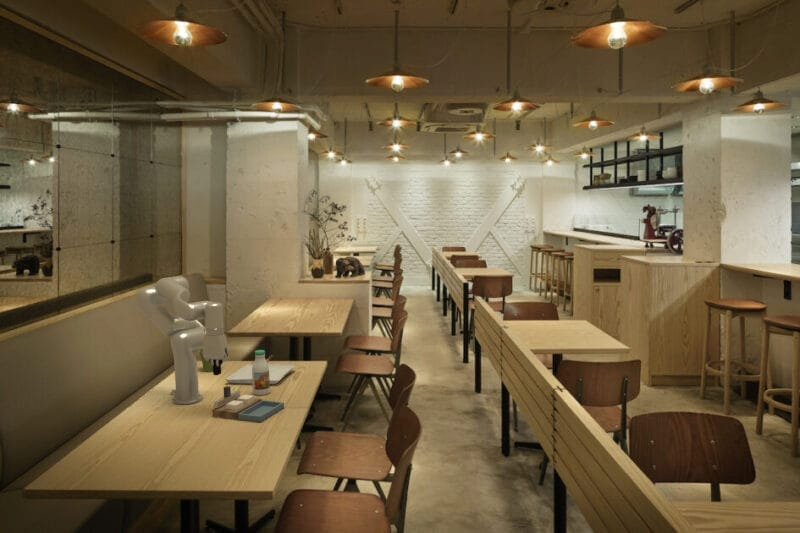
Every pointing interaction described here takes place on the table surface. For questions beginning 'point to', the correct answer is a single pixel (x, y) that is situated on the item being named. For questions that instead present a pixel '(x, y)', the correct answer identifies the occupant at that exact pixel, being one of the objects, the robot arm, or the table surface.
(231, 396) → the bar
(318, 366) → the table surface
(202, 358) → the plant pot
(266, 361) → the kitchen cleaver
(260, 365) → the milk bottle
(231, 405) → the white tile
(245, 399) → the white tile
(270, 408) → the box
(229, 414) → the walnut board
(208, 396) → the table surface
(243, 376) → the square plate
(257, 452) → the table surface
